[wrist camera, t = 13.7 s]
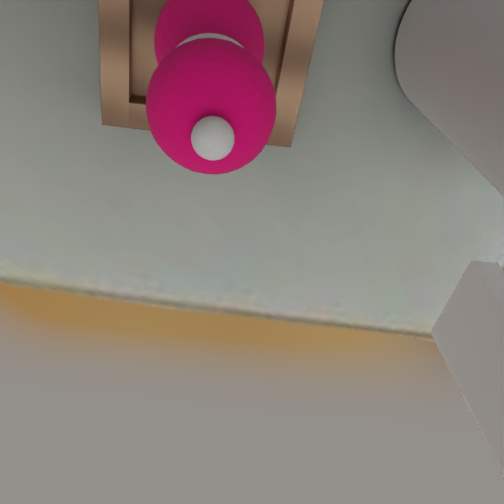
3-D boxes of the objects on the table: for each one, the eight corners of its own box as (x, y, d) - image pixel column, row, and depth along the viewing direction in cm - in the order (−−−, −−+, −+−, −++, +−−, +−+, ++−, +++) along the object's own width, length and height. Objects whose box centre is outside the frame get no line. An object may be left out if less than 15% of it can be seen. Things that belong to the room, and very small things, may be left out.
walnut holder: (102, -120, 29) (94, -120, 27) (331, -74, 32) (340, -71, 30) (107, 112, 38) (102, 124, 36) (286, 135, 40) (290, 147, 39)
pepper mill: (184, -50, 31) (164, 9, 15) (276, 8, 34) (340, 110, 18) (143, 51, 35) (92, 182, 19) (229, 96, 37) (247, 246, 21)
